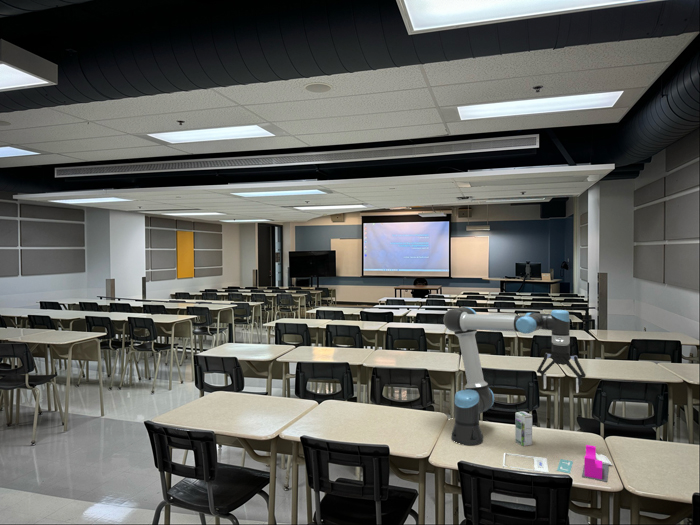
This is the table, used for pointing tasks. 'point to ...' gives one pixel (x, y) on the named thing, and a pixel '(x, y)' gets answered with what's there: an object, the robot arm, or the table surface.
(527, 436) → the syrup box
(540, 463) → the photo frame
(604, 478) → the mat
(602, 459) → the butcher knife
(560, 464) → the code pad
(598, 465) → the toy block
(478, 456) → the table surface
